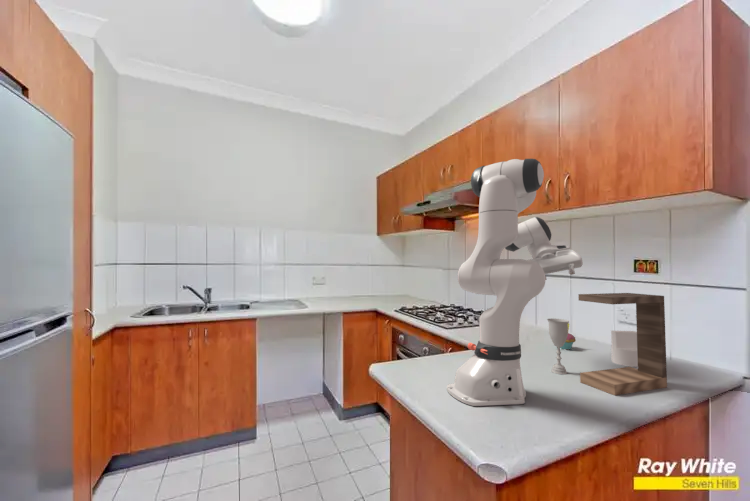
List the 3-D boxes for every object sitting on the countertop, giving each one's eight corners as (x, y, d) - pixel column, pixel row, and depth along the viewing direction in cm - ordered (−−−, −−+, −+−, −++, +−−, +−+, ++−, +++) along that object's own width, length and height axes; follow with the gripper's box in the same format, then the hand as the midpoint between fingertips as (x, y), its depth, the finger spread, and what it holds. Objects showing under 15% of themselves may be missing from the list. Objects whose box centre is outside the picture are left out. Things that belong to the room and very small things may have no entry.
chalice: (573, 376, 110) (572, 322, 111) (551, 374, 112) (550, 321, 113) (565, 369, 118) (564, 318, 118) (545, 368, 119) (544, 318, 120)
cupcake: (570, 346, 151) (570, 320, 152) (579, 351, 143) (578, 323, 143) (550, 345, 152) (550, 319, 153) (558, 350, 144) (557, 323, 145)
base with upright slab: (630, 360, 130) (630, 329, 130) (647, 367, 121) (646, 334, 122) (606, 359, 131) (605, 329, 131) (621, 366, 122) (620, 333, 122)
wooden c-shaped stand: (614, 395, 94) (612, 297, 95) (580, 382, 105) (578, 294, 106) (667, 387, 101) (664, 295, 102) (629, 375, 111) (627, 292, 112)
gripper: (517, 256, 132) (526, 274, 120) (572, 244, 127) (588, 262, 115) (519, 269, 135) (529, 288, 123) (574, 257, 129) (589, 277, 117)
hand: (558, 275), depth 119 cm, fingers open, 8 cm apart
